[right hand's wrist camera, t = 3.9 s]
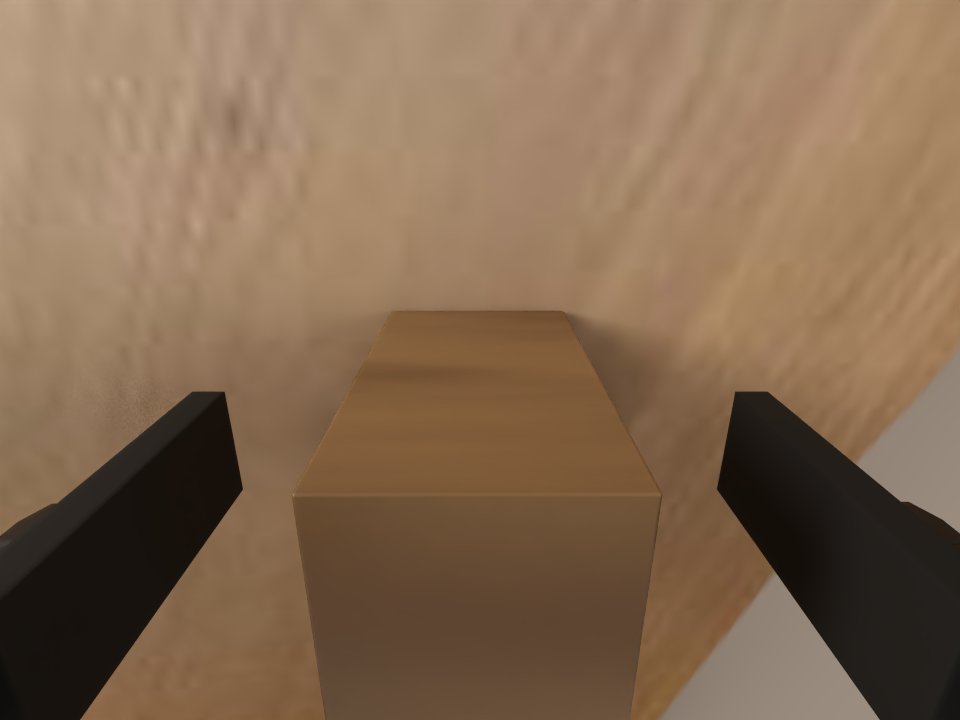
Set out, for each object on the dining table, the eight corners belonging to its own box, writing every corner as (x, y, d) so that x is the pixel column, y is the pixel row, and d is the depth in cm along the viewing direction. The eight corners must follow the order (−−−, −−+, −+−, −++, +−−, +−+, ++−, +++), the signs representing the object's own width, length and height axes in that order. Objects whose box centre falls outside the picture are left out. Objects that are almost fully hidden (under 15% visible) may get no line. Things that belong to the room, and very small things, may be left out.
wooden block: (554, 462, 17) (626, 748, 9) (400, 462, 17) (328, 749, 9) (563, 310, 15) (664, 494, 7) (391, 310, 15) (289, 494, 7)
